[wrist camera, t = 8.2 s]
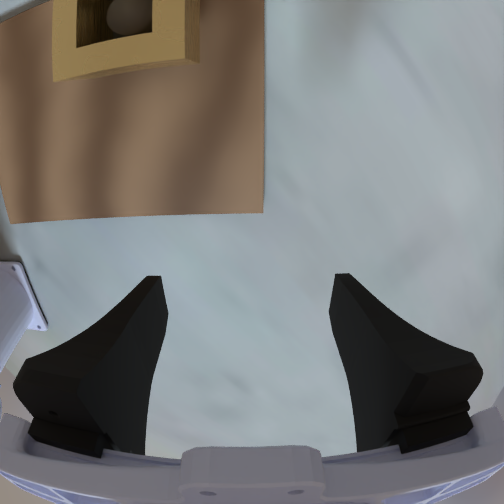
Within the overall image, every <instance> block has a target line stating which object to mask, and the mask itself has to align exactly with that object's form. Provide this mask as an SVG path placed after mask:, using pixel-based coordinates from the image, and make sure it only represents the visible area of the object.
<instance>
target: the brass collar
mask: <svg viewBox="0 0 504 504" xmlns="http://www.w3.org/2000/svg"><path fill="white" fill-rule="evenodd" d="M113 1H114V0H53V17H52V68H53V82H61V81H70V80H81V79H94V78H98V77H103V76H109V75H114V74H120V73H125V72H132V71H138V70H145V69H153V68H161V67H170V66H180V65H191V64H200V0H153V3H152V32H151V33H144V34H138V35H133V36H127V37H122V38H117V39H113V30H111V28H110V27H109V26H108V23H107V11H108V9H109V7H110V5H111V3H112V2H113Z"/></svg>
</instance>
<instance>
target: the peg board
mask: <svg viewBox="0 0 504 504" xmlns="http://www.w3.org/2000/svg"><path fill="white" fill-rule="evenodd" d="M152 3H153V0H114V1H113V2H112V3H111V5H110V7H109V9H108V11H107V23H108V26H109V27H110V28H111V30H113V39H117V38H122V37H127V36H133V35H138V34H144V33H151V32H152ZM52 17H53V0H50V1H48V2H45V3H43V4H40V5H38V6H36V7H33V8H31V9H29V10H27V11H24V12H22V13H20V14H18V15H16V16H14V17H12V18H10V19H8V20H6V21H4V22H2V23H0V186H1V190H2V194H3V198H4V202H5V206H6V210H7V213H8V217H9V221H10V224H17V223H30V222H43V221H57V220H73V219H90V218H108V217H129V216H154V215H185V214H231V213H263V187H264V0H200V64H191V65H180V66H170V67H161V68H153V69H145V70H138V71H132V72H125V73H120V74H114V75H109V76H103V77H98V78H94V79H81V80H70V81H61V82H53V68H52Z"/></svg>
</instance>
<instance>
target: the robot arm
mask: <svg viewBox="0 0 504 504" xmlns="http://www.w3.org/2000/svg"><path fill="white" fill-rule="evenodd" d="M329 315H330V321H331V326H332V332H333V335H334V338H335V341H336V344H337V347H338V350H339V353H340V357H341V360H342V363H343V366H344V369H345V372H346V376H347V380H348V384H349V390H350V395H351V401H352V408H353V415H354V423H355V432H356V444H357V453H350V454H344V455H337V456H329V457H321V453H320V451H319V450H317V449H314V448H312V447H309V446H297V445H288V446H267V447H213V446H211V447H196V448H193V449H190V450H188V451H186V452H184V453H183V454H182V458H181V459H170V458H161V457H153V456H145V438H146V424H147V414H148V405H149V397H150V390H151V384H152V379H153V375H154V371H155V368H156V364H157V361H158V357H159V354H160V351H161V347H162V344H163V340H164V337H165V332H166V326H167V320H168V309H167V304H166V300H165V295H164V289H163V284H162V279H161V276H146V277H145V278H144V279H143V280H142V281H141V282H140V283H139V284H138V285H137V286H136V287H135V288H134V289H133V290H132V291H131V292H130V293H129V294H128V295H127V296H126V297H125V298H124V299H123V300H122V301H121V302H120V303H118V304H117V305H116V306H115V307H114V308H113V309H112V310H111V311H109V312H108V313H107V314H106V315H105V316H104V317H102V318H101V319H100V320H99V321H97V322H96V323H95V324H93V325H92V326H90V327H89V328H88V329H86V330H85V331H83V332H82V333H80V334H78V335H77V336H75V337H73V338H72V339H70V340H68V341H67V342H65V343H63V344H61V345H59V346H57V347H55V348H53V349H51V350H48V351H46V352H44V353H41V354H39V355H36V356H33V357H31V358H28V359H26V360H25V362H24V364H23V366H22V367H21V369H20V371H19V373H18V375H17V377H16V379H15V381H14V383H13V388H14V391H15V394H16V395H17V397H18V399H19V400H20V401H21V402H22V404H23V405H24V406H25V407H26V408H27V410H28V411H29V412H30V413H31V414H32V416H33V417H34V418H33V420H32V423H30V422H28V421H27V420H24V419H22V418H19V417H16V416H13V415H10V414H8V413H4V415H3V417H2V420H1V422H0V474H1V475H2V476H3V477H5V478H6V479H7V480H9V481H10V482H12V483H13V484H14V485H16V486H17V487H19V488H20V489H23V490H25V491H27V492H29V493H32V494H34V495H36V496H39V497H41V498H43V499H46V500H48V501H51V502H53V503H56V504H434V503H436V502H439V501H441V500H443V499H446V498H448V497H450V496H453V495H455V494H458V493H460V492H462V491H464V490H466V489H468V488H471V487H473V486H475V485H477V484H479V483H481V482H483V481H485V480H486V479H488V478H489V477H490V476H492V475H493V474H494V473H496V472H497V471H498V470H499V469H501V468H502V467H503V466H504V421H503V419H502V416H501V414H500V412H499V410H498V408H497V407H496V406H494V407H491V408H489V409H486V410H483V411H480V412H478V413H476V414H474V415H473V416H471V417H469V414H468V412H467V411H469V409H470V405H469V403H468V401H467V400H468V399H469V398H470V396H471V395H472V394H473V392H474V391H475V389H476V388H477V387H478V385H479V383H480V382H481V379H482V376H483V369H482V368H481V366H480V364H479V362H478V361H477V359H476V357H475V356H474V354H473V353H471V352H468V351H465V350H462V349H459V348H456V347H454V346H451V345H449V344H446V343H444V342H442V341H440V340H437V339H435V338H433V337H431V336H429V335H428V334H426V333H424V332H422V331H420V330H419V329H417V328H415V327H414V326H412V325H411V324H409V323H408V322H406V321H405V320H403V319H402V318H400V317H399V316H398V315H396V314H395V313H394V312H392V311H391V310H390V309H389V308H387V307H386V306H385V305H384V304H383V303H381V302H380V301H379V300H378V299H377V298H376V297H375V296H373V295H372V294H371V293H370V292H369V291H368V290H367V289H366V288H365V287H364V286H363V285H362V284H360V283H359V282H358V281H357V280H356V279H355V278H354V277H353V276H352V275H351V274H349V273H345V274H335V279H334V285H333V291H332V297H331V302H330V308H329ZM26 329H33V330H40V331H47V329H48V325H47V323H46V321H45V319H44V317H43V315H42V312H41V310H40V308H39V306H38V303H37V301H36V299H35V296H34V294H33V292H32V289H31V287H30V284H29V282H28V279H27V277H26V274H25V271H24V269H23V266H22V264H21V263H19V262H0V373H1V371H2V369H3V367H4V365H5V364H6V362H7V360H8V358H9V357H10V355H11V353H12V352H13V350H14V348H15V347H16V345H17V343H18V342H19V340H20V338H21V337H22V335H23V334H24V332H25V330H26ZM0 387H1V384H0ZM1 414H2V402H1V398H0V419H1Z"/></svg>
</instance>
